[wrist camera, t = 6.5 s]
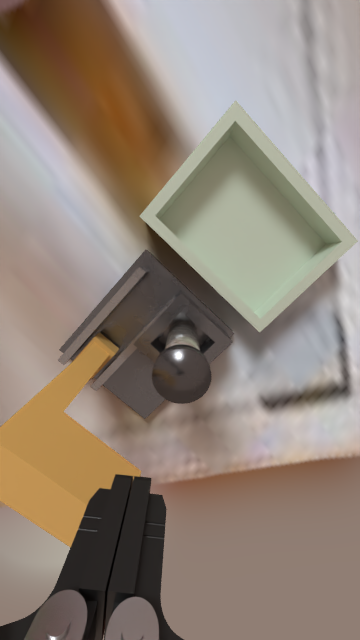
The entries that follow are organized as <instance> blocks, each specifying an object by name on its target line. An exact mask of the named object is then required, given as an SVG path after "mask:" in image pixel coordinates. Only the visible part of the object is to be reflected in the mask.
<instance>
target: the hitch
mask: <svg viewBox="0 0 360 640" xmlns="http://www.w3.org/2000/svg"><path fill="white" fill-rule="evenodd" d="M178 321H187V322H190V323H191V324H193V325H194V327H195V328H196V330H197V335H198V341H199V347H200V351H201V352H202V353H203V354H204V355H205V357H206V358H207V360H208V363H209V364H210V363H211V362H212V361H213V360H214V359H215V358H216V357H217V356H218V355H219V354H220V353H221V352H222V351H223V350H225V349H226V348H227V347H228V346H229V345H230V344H231V343H232V340H231V339H230V337H231V336H232V335H233V334H234V333H233V331H232V330H231V329H230V328H229V327H228V326H227V325H226V324H225V323H224V322H223V321H221V320H220V319H219V318H218V317H217V316H216V315H215V314H214V313H213V312H212V311H211V310H210V309H209V308H208V307H207V306H206V305H205V304H204V303H202V302H201V301H200V300H199V299H198V298H197V297H196V296H195V295H194V294H193V293H192V292H191V291H190V290H189V289H188V288H187V287H186V286H185V285H183V284H182V283H181V282H180V281H179V280H178V279H177V278H176V277H175V276H174V275H173V274H172V273H171V272H170V271H169V270H168V269H167V268H166V267H164V266H163V265H162V264H161V263H160V262H159V261H158V260H157V259H156V258H155V257H154V256H153V255H152V254H151V253H150V252H149V251H148V250H145V251H144V252H143V253H142V255H141V256H140V257H139V258H138V259H137V260H136V261H135V263H134V264H133V265H132V266H131V267H130V268H129V270H128V271H127V272H126V273H125V274H124V275H123V277H122V278H121V279H120V280H119V281H118V282H117V283H116V285H115V286H114V287H113V288H112V289H111V290H110V292H109V293H108V294H107V295H106V296H105V297H104V299H103V300H102V301H101V302H100V303H99V304H98V305H97V307H96V308H95V309H94V310H93V311H92V312H91V314H90V315H89V316H88V317H87V318H86V319H85V321H84V322H83V323H82V324H81V325H80V326H79V327H78V329H77V330H76V331H75V332H74V333H73V334H72V336H71V337H70V338H69V339H68V340H67V341H66V343H65V344H64V345H63V346H62V347H61V348H60V349H59V350H60V351H61V352H63V353H64V354H63V355H62V356H61V357H60V358H59V359H58V361H59V362H61V363H62V364H63V365H64V364H66V363H67V362H68V361H69V360H70V359H71V360H74V359H75V358H76V357H77V356H78V355H79V354H80V353H81V351H82V350H83V349H84V348H85V347H86V346H87V345H88V344H89V342H90V341H91V340H92V339H93V338H94V337H95V336H96V335H97V334H98V333H101V334H102V335H104V336H105V337H106V338H107V339H108V340H110V341H111V342H112V343H113V344H114V345H115V346H117V347H118V348H119V350H118V351H117V352H116V354H115V355H114V356H113V357H112V358H111V359H110V360H109V361H108V362H107V363H106V365H105V366H104V367H103V368H102V369H101V370H100V371H99V372H98V373H97V374H96V375H95V376H94V378H95V379H96V380H95V381H94V382H93V384H92V385H91V387H92V388H93V389H94V390H96V391H97V390H98V389H99V388H100V387H101V385H103V386H105V387H106V388H107V389H108V390H110V391H111V392H112V393H113V394H115V395H116V396H117V397H118V398H120V399H121V400H122V401H123V402H124V403H126V404H127V405H128V406H129V407H131V408H132V409H133V410H134V411H136V412H137V413H138V414H139V415H141V416H142V417H143V418H144V419H145V418H146V417H147V416H149V415H150V414H151V413H152V412H153V411H154V410H155V409H156V408H157V407H158V406H159V405H160V404H161V403H162V402H163V401H164V400H165V399H164V398H163V397H162V396H161V395H160V394H159V393H158V392H157V391H156V389H155V387H154V385H153V382H152V371H153V367H154V364H155V361H156V359H157V357H158V355H159V354H160V353H161V352H162V351H163V350H165V346H166V341H167V337H168V333H169V329H170V327H171V326H172V325H173V324H174V323H176V322H178Z"/></svg>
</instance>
